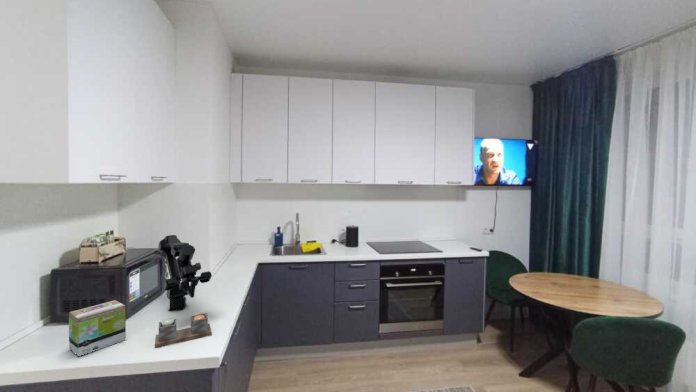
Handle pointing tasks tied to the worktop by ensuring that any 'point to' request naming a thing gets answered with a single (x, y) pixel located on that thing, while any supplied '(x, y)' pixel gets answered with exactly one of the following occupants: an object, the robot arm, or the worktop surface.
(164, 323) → the sage button
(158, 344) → the button board
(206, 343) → the worktop surface
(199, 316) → the terracotta button
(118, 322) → the tea box
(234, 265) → the worktop surface
